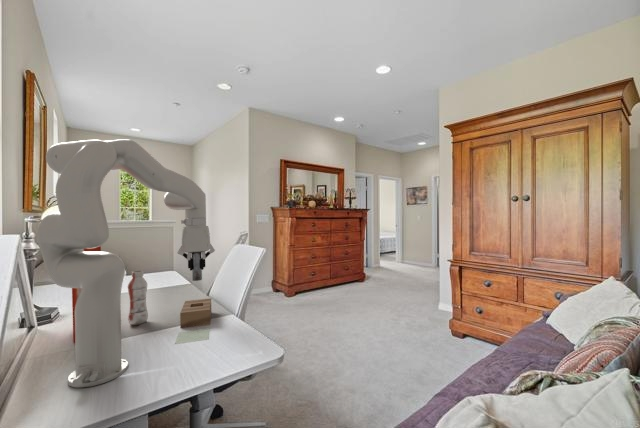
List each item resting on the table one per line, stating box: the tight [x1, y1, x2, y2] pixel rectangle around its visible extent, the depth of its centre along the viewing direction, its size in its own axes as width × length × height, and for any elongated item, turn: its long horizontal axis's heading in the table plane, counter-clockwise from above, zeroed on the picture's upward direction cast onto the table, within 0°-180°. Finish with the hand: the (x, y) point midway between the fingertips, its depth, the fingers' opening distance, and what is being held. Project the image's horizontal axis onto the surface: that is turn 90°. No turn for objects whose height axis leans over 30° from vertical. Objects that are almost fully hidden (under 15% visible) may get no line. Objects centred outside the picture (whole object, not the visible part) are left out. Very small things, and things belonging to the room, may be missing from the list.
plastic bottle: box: [127, 270, 149, 326], centre depth 112 cm, size 6×7×20 cm
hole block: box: [179, 297, 212, 329], centre depth 115 cm, size 16×10×6 cm, turn 19°
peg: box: [191, 252, 203, 282], centre depth 116 cm, size 4×4×14 cm
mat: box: [174, 328, 211, 345], centre depth 99 cm, size 10×10×1 cm
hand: (196, 269), depth 116 cm, fingers closed on peg, 3 cm apart
